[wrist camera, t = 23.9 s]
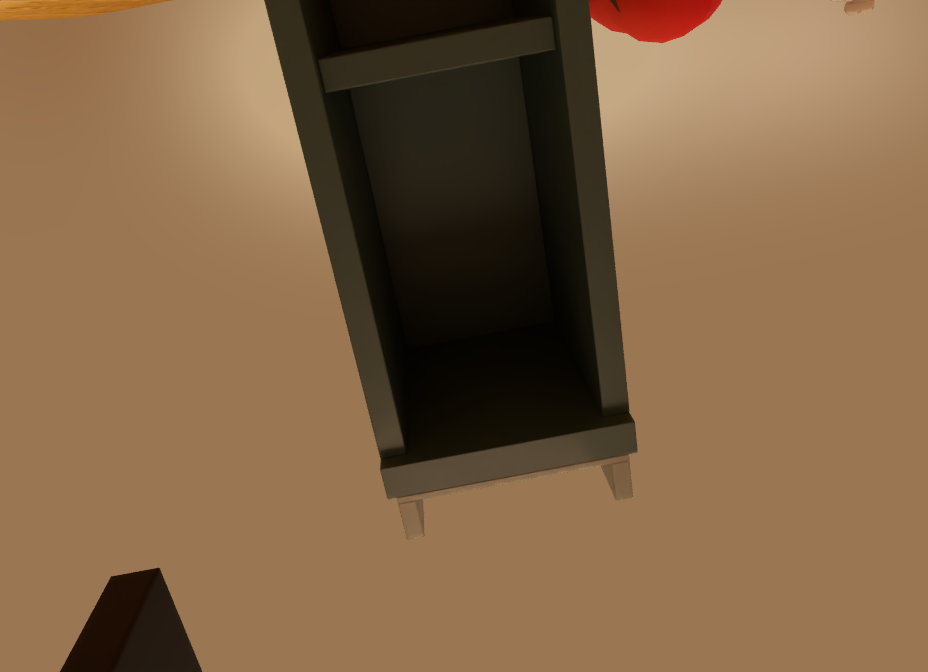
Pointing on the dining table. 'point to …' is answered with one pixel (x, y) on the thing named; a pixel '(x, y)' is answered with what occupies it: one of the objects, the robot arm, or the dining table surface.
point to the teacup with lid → (857, 6)
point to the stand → (466, 234)
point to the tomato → (652, 17)
